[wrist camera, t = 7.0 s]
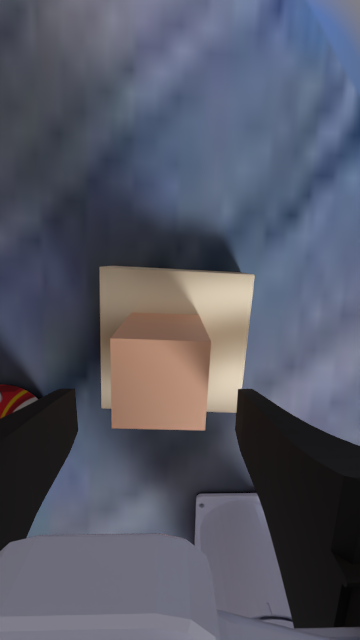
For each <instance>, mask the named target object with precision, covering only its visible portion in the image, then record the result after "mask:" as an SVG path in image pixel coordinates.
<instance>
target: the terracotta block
mask: <svg viewBox="0 0 360 640" xmlns="http://www.w3.org/2000/svg"><path fill="white" fill-rule="evenodd" d="M210 353H211V340H210V338H209V336H208V333H207V331H206V329H205V327H204V325H203V322H202V320H201V318H200V316H199V315H188V314H161V313H132V312H131V314H130V315H129V316H128V317H127V318H126V320H125V321H124V322H123V323H122V325H121V326H120V327H119V328H118V329H117V331H116V332H115V333H114V334H113V336H112V337H111V338H110V355H111V415H112V428H119V429H162V430H205V425H206V410H207V396H208V382H209V368H210Z"/></svg>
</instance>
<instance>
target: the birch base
mask: <svg viewBox="0 0 360 640" xmlns="http://www.w3.org/2000/svg"><path fill="white" fill-rule="evenodd" d="M99 269H100V339H101V408H107V409H111V355H110V338H111V337H112V336H113V334H114V333H115V332H116V331H117V329H118V328H119V327H120V326H121V325H122V323H123V322H124V321H125V320H126V318H127V317H128V316H129V315H130V314H131V312H132V313H161V314H188V315H199V316H200V318H201V320H202V322H203V325H204V327H205V329H206V331H207V333H208V336H209V338H210V340H211V353H210V368H209V382H208V396H207V410H206V412H230V413H236V411H237V396H238V389H242V383H243V374H244V365H245V356H246V347H247V339H248V330H249V321H250V312H251V303H252V294H253V286H254V277H255V275H253V274H247V273H242V272H226V271H207V270H188V269H169V268H150V267H131V266H102V267H99Z"/></svg>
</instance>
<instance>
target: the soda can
mask: <svg viewBox="0 0 360 640" xmlns="http://www.w3.org/2000/svg"><path fill="white" fill-rule="evenodd" d="M36 400H38V399H37V398H36V397H35V396H34V395H33V394H31V393H30V392H28V391H26V390H24V389H22V388H19V387H16V386H12V385H0V418H2V417H4V416H7V415H9V414H11V413H13V412H15V411H17V410H19V409H21V408H23V407H25V406H27V405H29V404H31V403H32V402H34V401H36Z"/></svg>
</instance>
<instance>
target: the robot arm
mask: <svg viewBox="0 0 360 640" xmlns="http://www.w3.org/2000/svg"><path fill="white" fill-rule="evenodd" d="M235 431H236V435H237V439H238V444H239V447H240V451H241V454H242V456H243V459H244V462H245V464H246V467H247V469H248V472H249V474H250V477H251V480H252V482H253V485H254V487H255V490H256V492H257V493H215V494H199V495H197V497H196V516H195V546H194V545H193V544H191V543H190V542H189V541H188V540H186V539H185V538H180V537H175V536H170V535H165V534H160V533H152V534H79V535H38V536H34V537H30V538H26V537H27V535H28V532H29V530H30V528H31V525H32V523H33V521H34V518H35V516H36V514H37V512H38V510H39V508H40V506H41V504H42V502H43V500H44V498H45V497H46V495H47V493H48V491H49V489H50V487H51V486H52V484H53V482H54V480H55V478H56V477H57V475H58V473H59V471H60V469H61V467H62V466H63V464H64V462H65V460H66V458H67V456H68V454H69V453H70V450H71V448H72V445H73V443H74V440H75V437H76V435H77V432H78V423H77V410H76V398H75V389H59V390H56V391H54V392H52V393H50V394H48V395H46V396H44V397H42V398H40V399H38V400H36V401H34V402H32V403H31V404H29V405H27V406H25V407H23V408H21V409H19V410H17V411H15V412H13V413H11V414H9V415H7V416H4V417H2V418H0V640H360V446H358V445H355V444H352V443H350V442H347V441H345V440H342V439H340V438H337V437H335V436H333V435H330V434H328V433H326V432H324V431H322V430H320V429H318V428H315V427H313V426H311V425H309V424H308V423H306V422H304V421H302V420H300V419H299V418H297V417H295V416H293V415H292V414H290V413H288V412H287V411H285V410H284V409H282V408H280V407H279V406H277V405H276V404H274V403H273V402H271V401H270V400H268V399H267V398H265V397H264V396H262V395H261V394H259V393H258V392H256V391H254V390H253V389H238V396H237V411H236V426H235ZM201 503H202V504H201Z"/></svg>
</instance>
